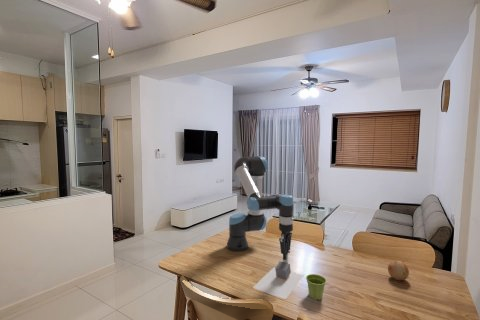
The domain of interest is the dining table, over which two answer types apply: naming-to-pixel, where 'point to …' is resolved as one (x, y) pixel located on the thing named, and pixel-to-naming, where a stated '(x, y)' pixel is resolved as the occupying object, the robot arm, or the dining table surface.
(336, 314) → the dining table surface
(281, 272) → the flip cube
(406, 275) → the onion
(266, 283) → the grip mat
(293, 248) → the dining table surface
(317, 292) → the plant pot
